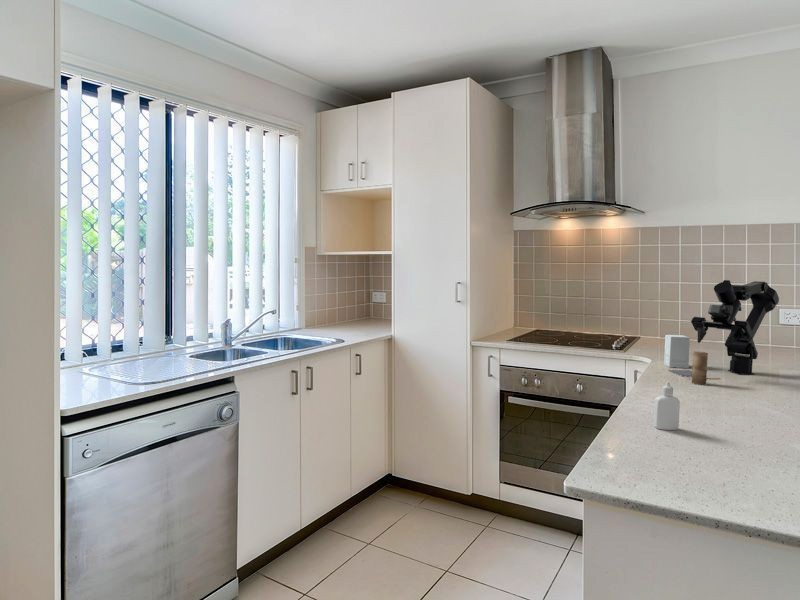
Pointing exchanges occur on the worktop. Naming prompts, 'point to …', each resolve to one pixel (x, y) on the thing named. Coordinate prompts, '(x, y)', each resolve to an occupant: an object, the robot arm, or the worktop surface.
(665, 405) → the eye dropper bottle
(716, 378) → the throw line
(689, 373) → the mat
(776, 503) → the worktop surface
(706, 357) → the pin
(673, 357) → the supplement box
